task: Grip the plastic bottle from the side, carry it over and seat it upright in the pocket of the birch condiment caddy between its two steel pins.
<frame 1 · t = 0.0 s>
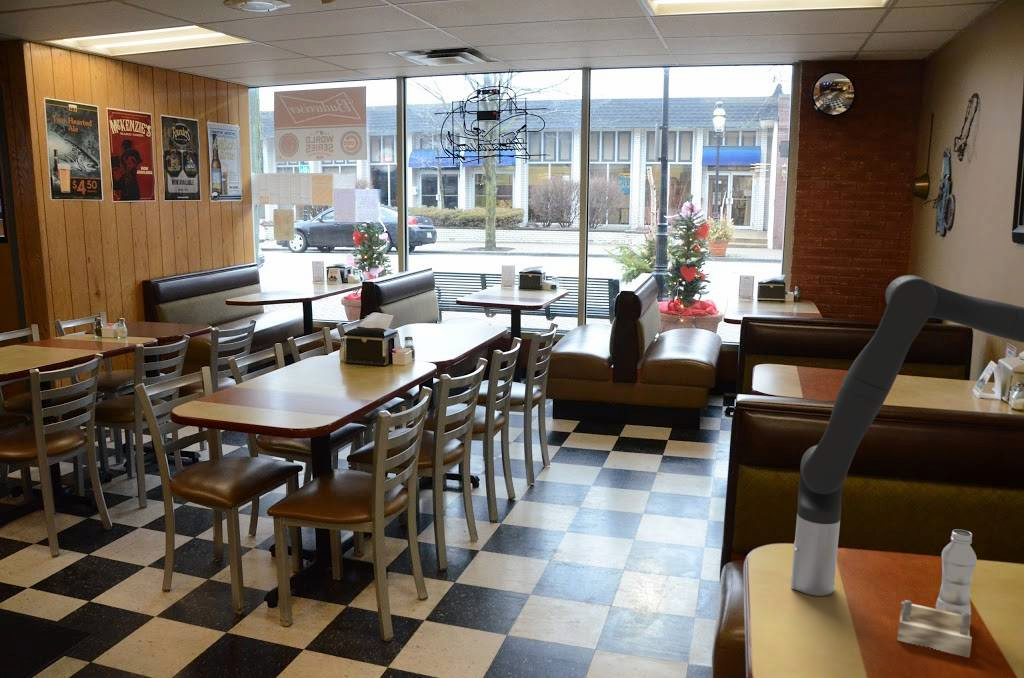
plastic bottle: (951, 621, 176), on the table
caddy: (933, 637, 169), on the table
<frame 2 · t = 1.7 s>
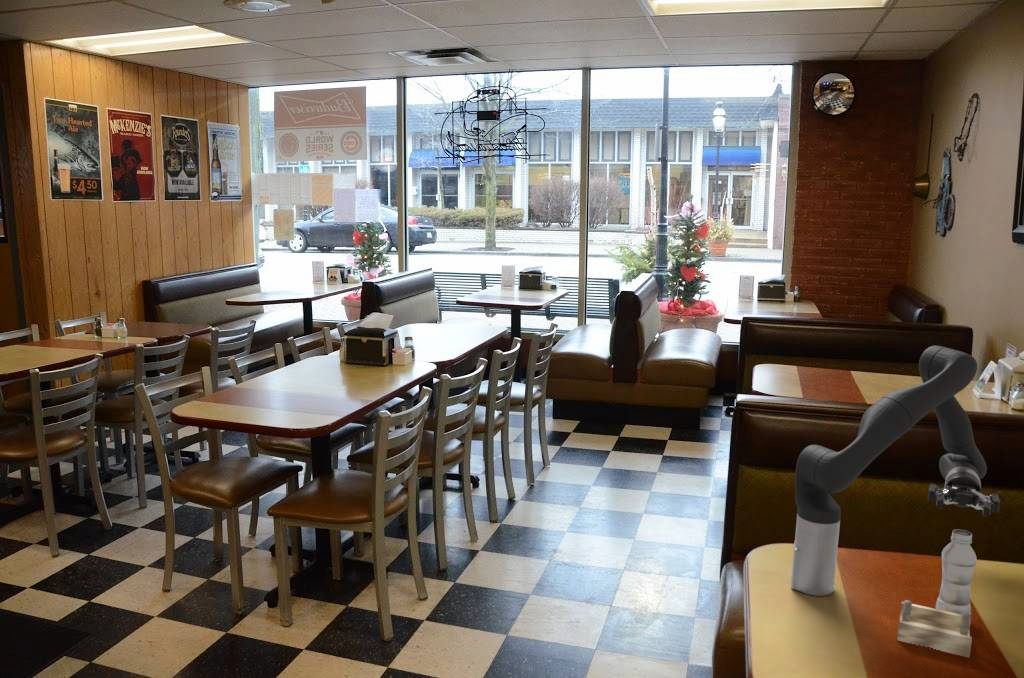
hand: (963, 508, 182), 22 cm above the table, tool horizontal, fingers open, 8 cm apart
nothing on the table moved.
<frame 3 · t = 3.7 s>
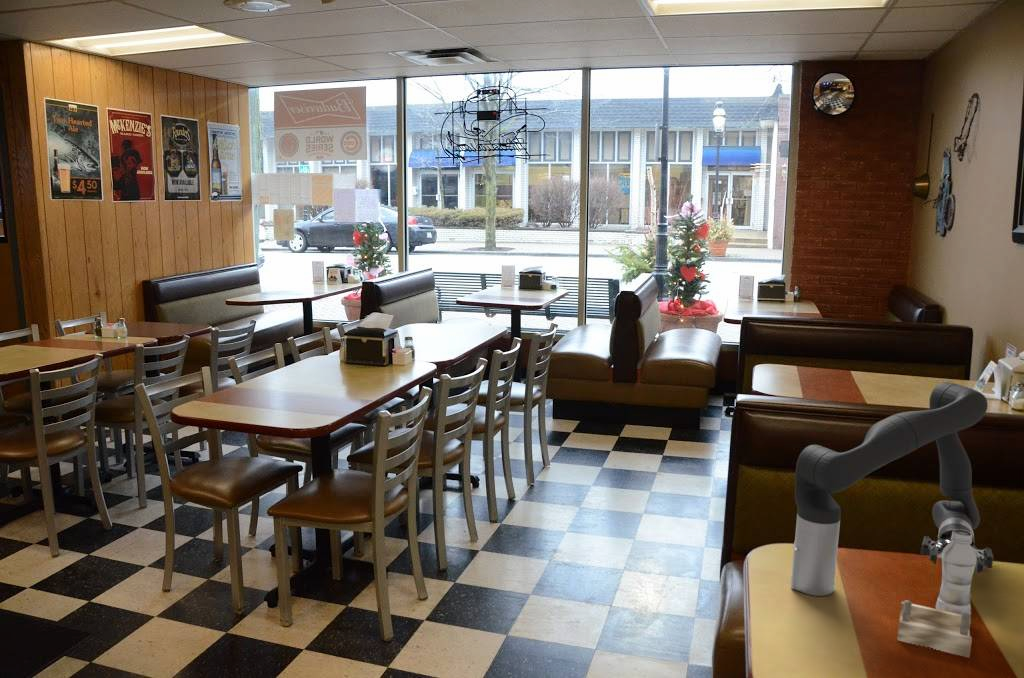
hand: (956, 564, 181), 10 cm above the table, tool horizontal, fingers open, 8 cm apart
nothing on the table moved.
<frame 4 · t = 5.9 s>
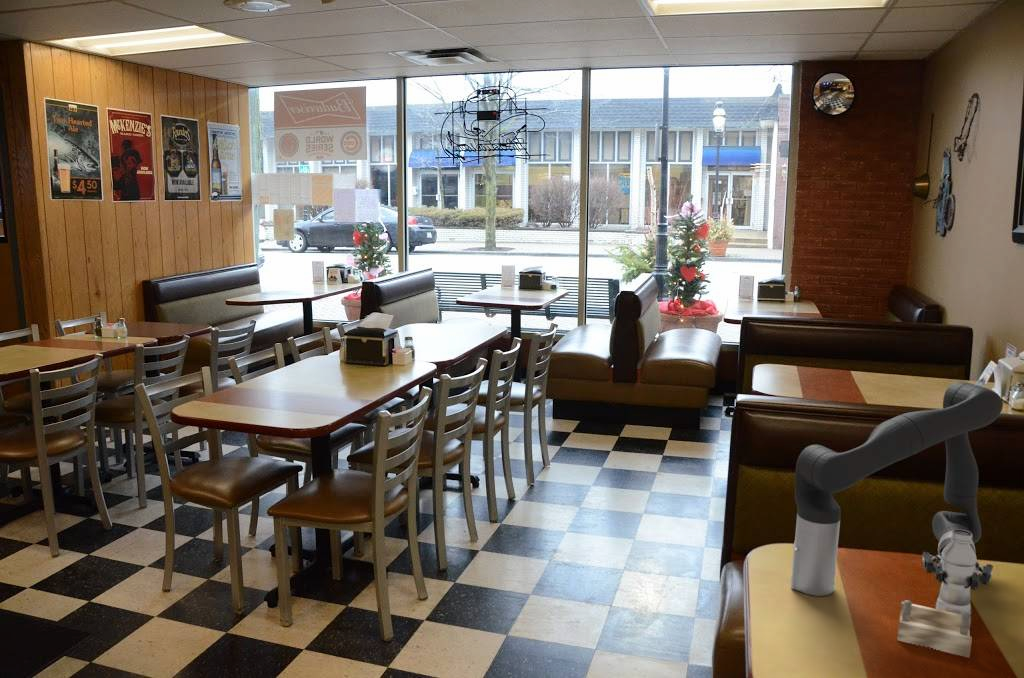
hand: (957, 581, 172), 10 cm above the table, tool horizontal, fingers closed on plastic bottle, 5 cm apart
plastic bottle: (951, 621, 176), on the table, touching gripper
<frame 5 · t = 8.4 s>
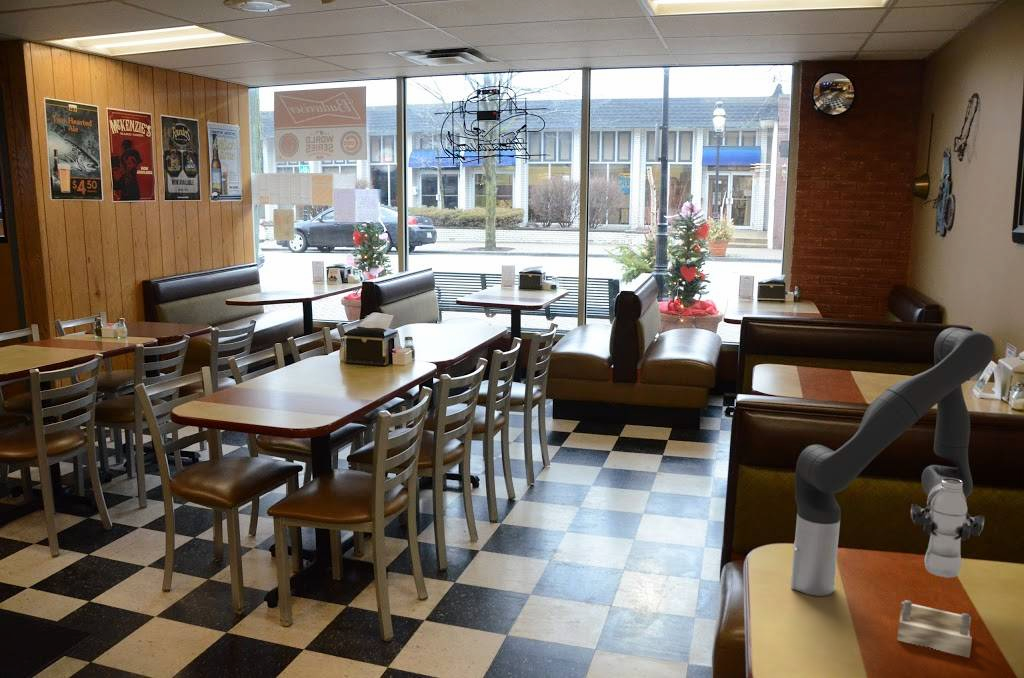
hand: (946, 532, 163), 24 cm above the table, tool horizontal, fingers closed on plastic bottle, 5 cm apart
plastic bottle: (941, 575, 167), point 14 cm above the table, touching gripper
when the fingers open (13 cm above the table, at t = 11.0 s): plastic bottle moves 2 cm, point 2 cm above the table.
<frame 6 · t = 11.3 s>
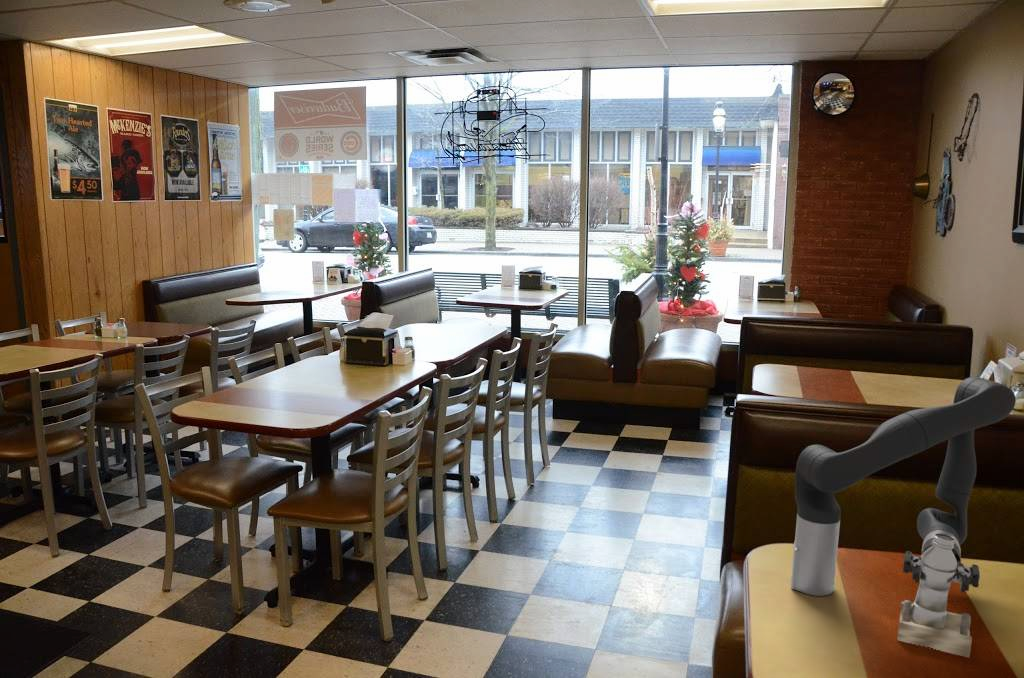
hand: (940, 583, 165), 13 cm above the table, tool horizontal, fingers open, 8 cm apart
plastic bottle: (925, 627, 170), point 2 cm above the table, touching gripper
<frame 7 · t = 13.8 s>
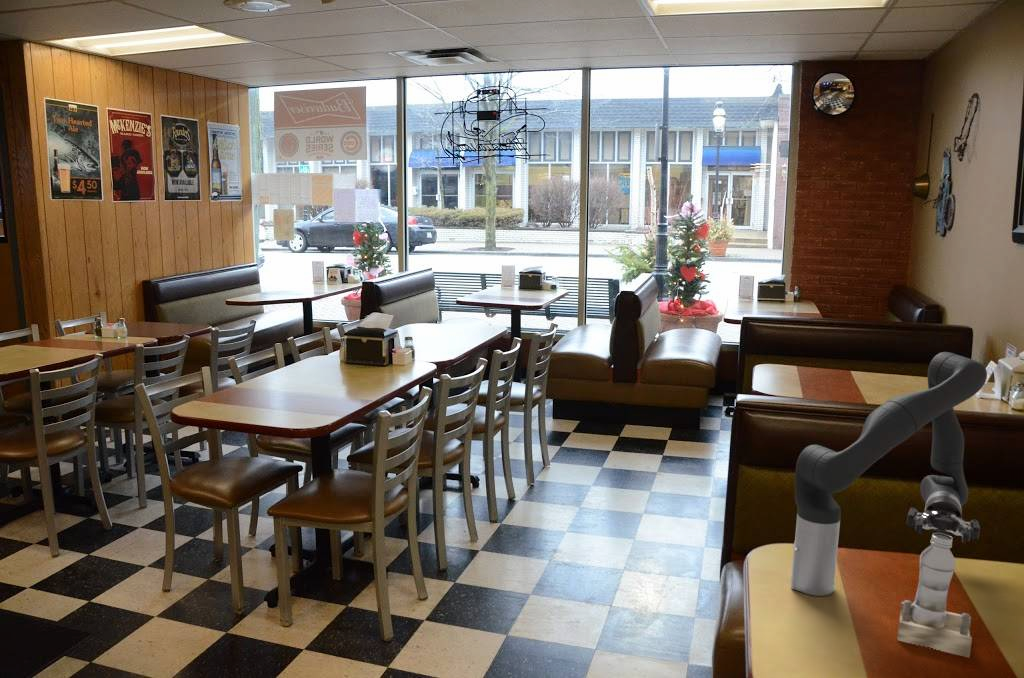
hand: (942, 534, 177), 18 cm above the table, tool horizontal, fingers open, 8 cm apart
plastic bottle: (925, 627, 170), point 1 cm above the table, touching caddy
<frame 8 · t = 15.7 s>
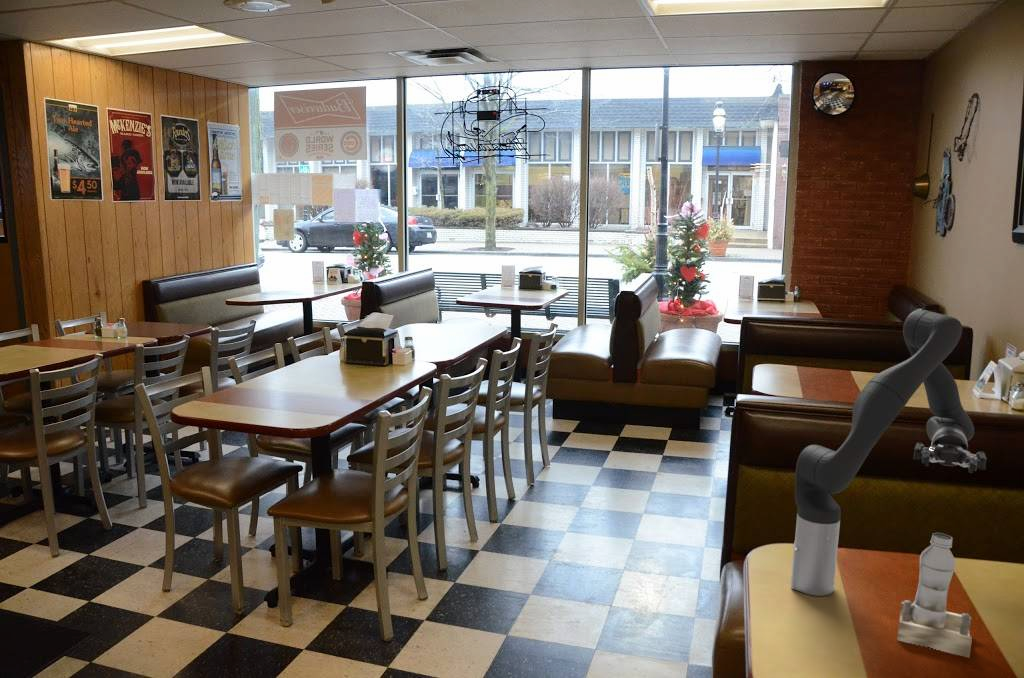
hand: (949, 464, 179), 32 cm above the table, tool horizontal, fingers open, 8 cm apart
nothing on the table moved.
at the end: plastic bottle 1.6 cm off-centre on the caddy, point 1.5 cm above the caddy's base; plastic bottle tilted 3°; the gripper is holding nothing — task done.
